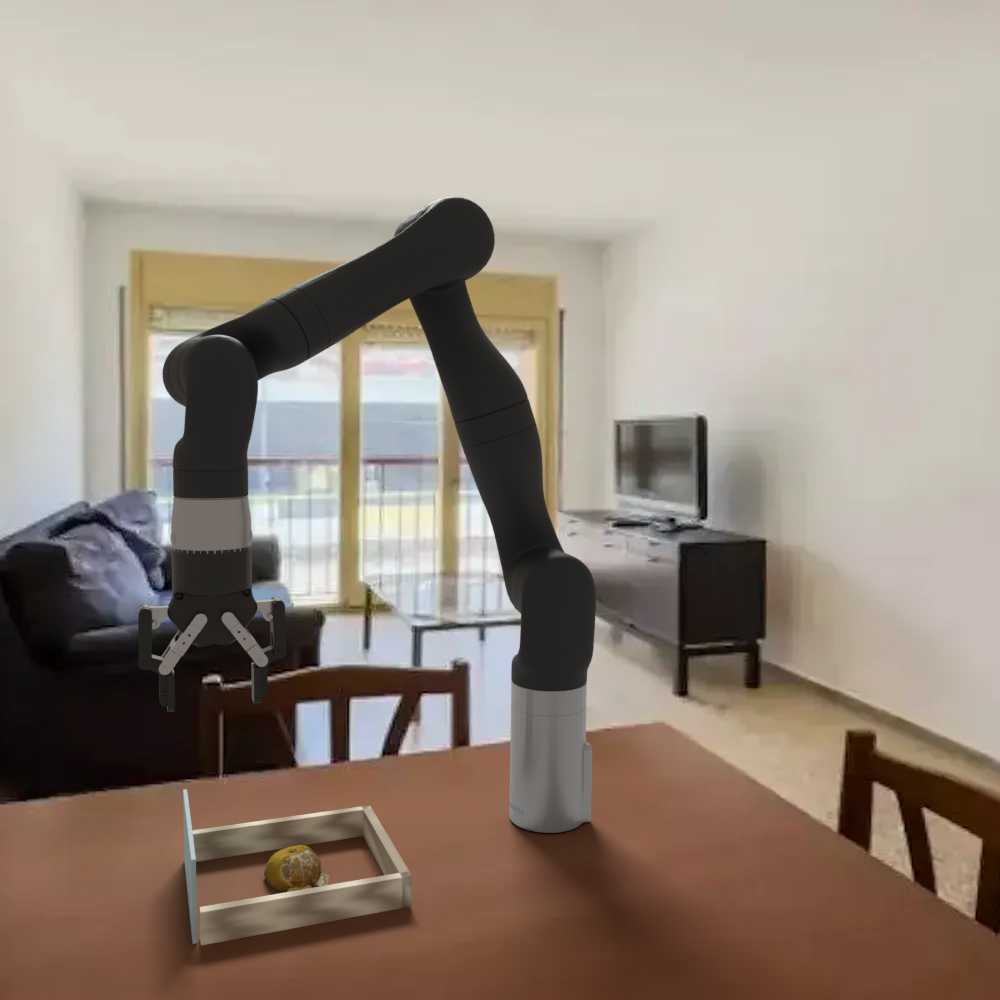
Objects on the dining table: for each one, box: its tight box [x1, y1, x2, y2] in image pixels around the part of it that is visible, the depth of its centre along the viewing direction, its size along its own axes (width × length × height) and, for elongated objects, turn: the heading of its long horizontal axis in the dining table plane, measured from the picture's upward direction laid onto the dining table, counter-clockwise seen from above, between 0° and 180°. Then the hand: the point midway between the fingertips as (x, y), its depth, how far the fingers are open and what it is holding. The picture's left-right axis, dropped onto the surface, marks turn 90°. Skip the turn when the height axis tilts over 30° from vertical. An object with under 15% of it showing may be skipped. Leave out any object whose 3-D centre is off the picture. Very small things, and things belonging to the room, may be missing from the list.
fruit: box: [263, 845, 330, 892], centre depth 96 cm, size 8×8×4 cm
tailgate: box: [182, 788, 198, 945], centre depth 92 cm, size 1×17×8 cm, turn 22°
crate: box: [192, 804, 413, 946], centre depth 96 cm, size 20×18×4 cm
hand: (214, 705), depth 91 cm, fingers open, 7 cm apart
